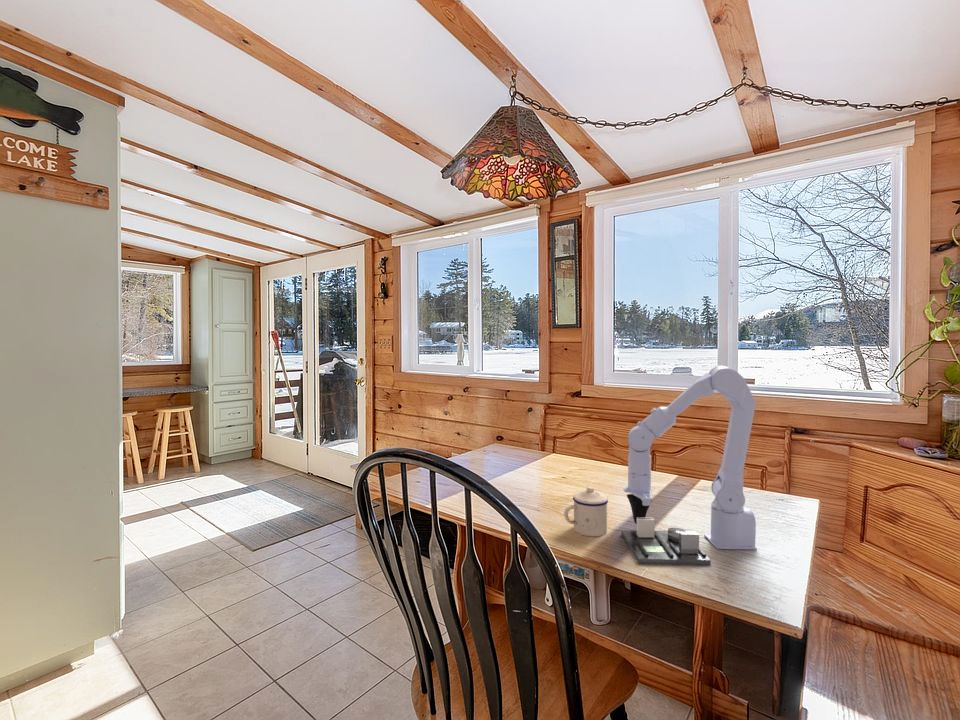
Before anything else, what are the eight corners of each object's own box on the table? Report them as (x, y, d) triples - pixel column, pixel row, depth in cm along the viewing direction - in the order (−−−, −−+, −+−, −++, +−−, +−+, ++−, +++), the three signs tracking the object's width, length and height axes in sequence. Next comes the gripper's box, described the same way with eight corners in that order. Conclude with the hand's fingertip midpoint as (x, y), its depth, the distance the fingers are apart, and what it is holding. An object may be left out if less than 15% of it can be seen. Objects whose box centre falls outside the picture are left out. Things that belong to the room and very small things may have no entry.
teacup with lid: (596, 522, 132) (597, 481, 132) (614, 535, 123) (614, 491, 123) (557, 526, 129) (557, 484, 128) (572, 540, 120) (572, 495, 120)
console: (683, 535, 123) (684, 513, 123) (710, 565, 107) (710, 539, 107) (621, 534, 124) (621, 512, 123) (638, 564, 108) (638, 538, 108)
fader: (652, 534, 120) (652, 517, 120) (654, 537, 119) (654, 519, 118) (636, 534, 120) (636, 516, 120) (638, 537, 119) (638, 519, 119)
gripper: (617, 464, 132) (617, 512, 133) (631, 480, 118) (630, 534, 118) (643, 464, 132) (642, 512, 132) (660, 480, 117) (659, 534, 118)
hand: (638, 523), depth 125 cm, fingers closed
